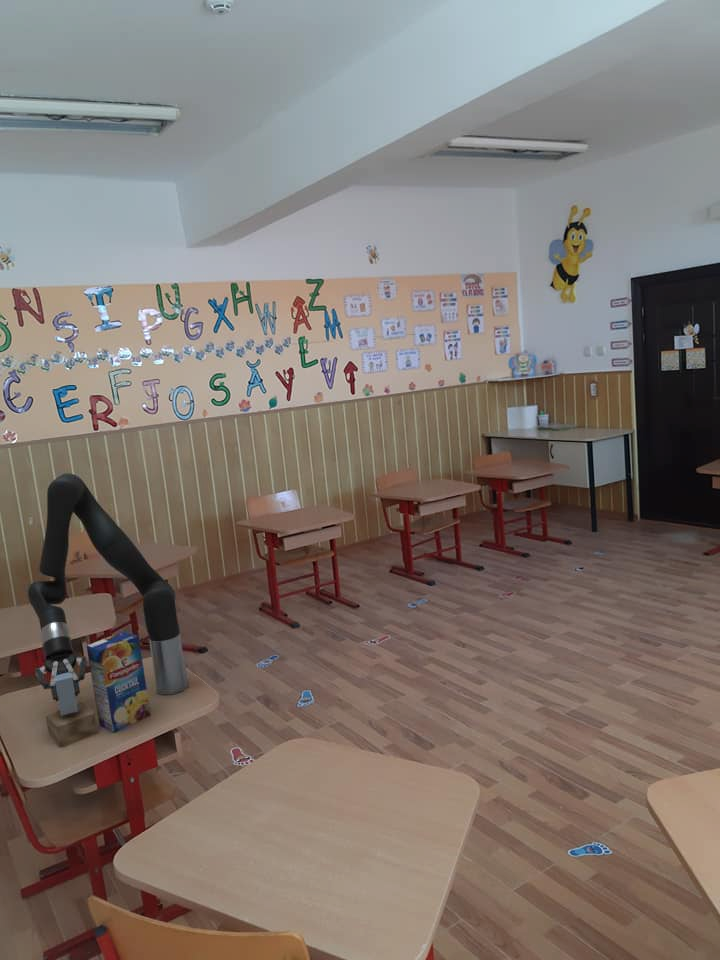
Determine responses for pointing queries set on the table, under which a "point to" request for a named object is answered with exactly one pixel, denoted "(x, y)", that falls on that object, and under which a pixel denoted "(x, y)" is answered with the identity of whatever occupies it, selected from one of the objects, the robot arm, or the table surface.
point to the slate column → (66, 693)
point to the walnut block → (71, 725)
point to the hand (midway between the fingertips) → (66, 697)
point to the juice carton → (118, 681)
